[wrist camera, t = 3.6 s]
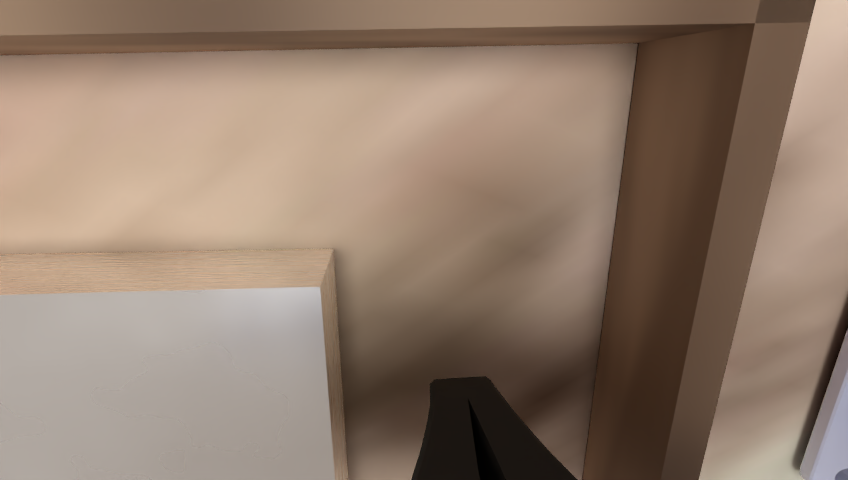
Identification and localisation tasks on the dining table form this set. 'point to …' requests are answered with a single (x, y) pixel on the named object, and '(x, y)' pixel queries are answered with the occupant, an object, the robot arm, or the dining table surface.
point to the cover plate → (171, 366)
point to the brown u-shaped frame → (641, 177)
